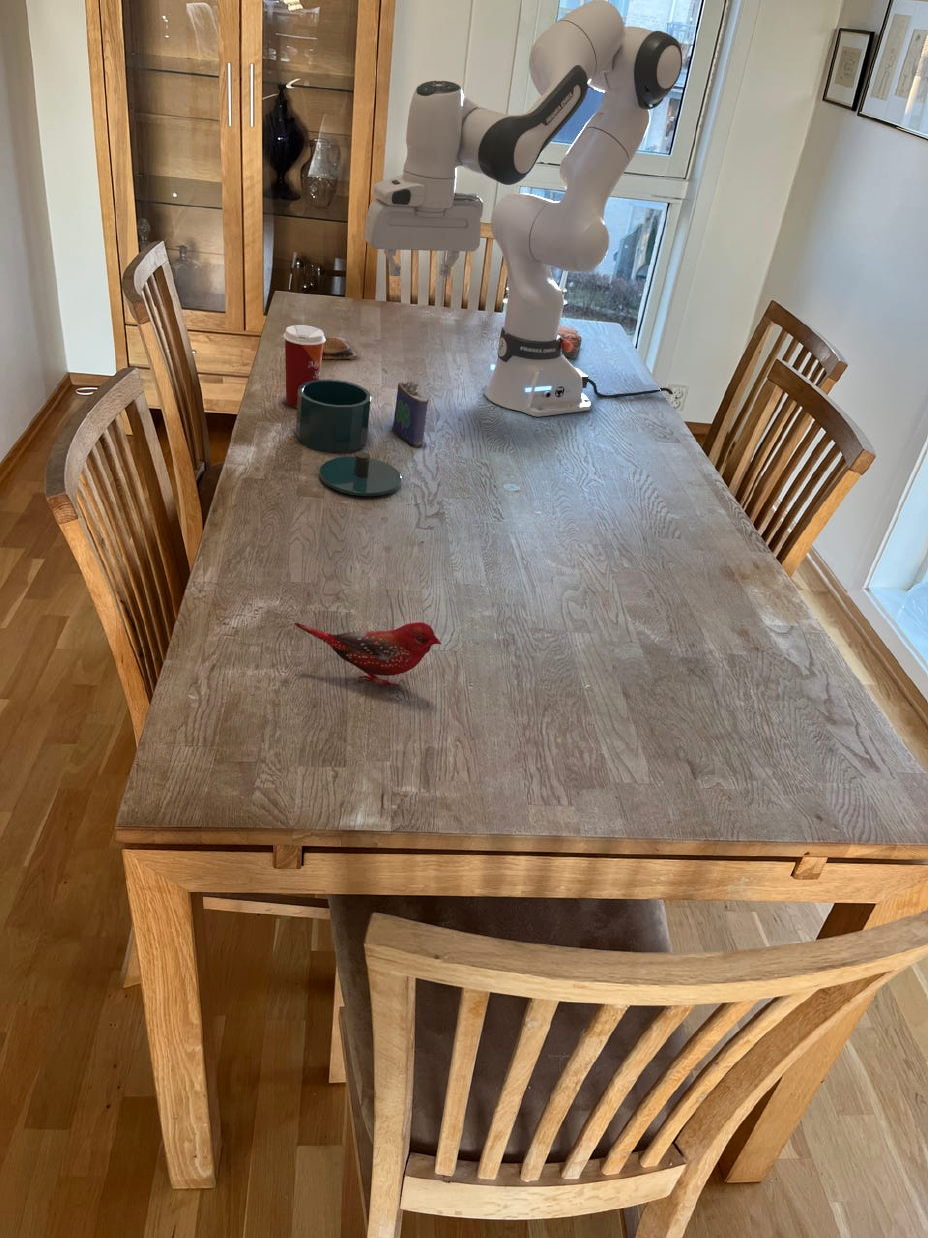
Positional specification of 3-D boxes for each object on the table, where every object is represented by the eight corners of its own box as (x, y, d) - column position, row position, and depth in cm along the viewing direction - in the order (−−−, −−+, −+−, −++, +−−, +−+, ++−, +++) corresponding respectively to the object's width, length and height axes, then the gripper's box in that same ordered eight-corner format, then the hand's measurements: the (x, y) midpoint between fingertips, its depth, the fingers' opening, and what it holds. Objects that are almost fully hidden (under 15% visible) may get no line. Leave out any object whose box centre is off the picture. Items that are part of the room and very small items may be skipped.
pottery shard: (582, 362, 232) (586, 346, 230) (518, 352, 231) (521, 336, 228) (576, 340, 246) (579, 325, 243) (515, 331, 244) (518, 315, 242)
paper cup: (318, 413, 184) (322, 340, 176) (277, 407, 184) (280, 333, 176) (324, 398, 191) (328, 327, 183) (284, 392, 190) (287, 321, 182)
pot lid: (385, 460, 171) (388, 436, 168) (412, 497, 161) (415, 471, 158) (309, 464, 166) (311, 438, 163) (332, 501, 156) (334, 474, 153)
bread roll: (348, 347, 217) (350, 330, 215) (358, 360, 211) (360, 343, 209) (301, 345, 214) (302, 329, 212) (310, 359, 207) (311, 342, 205)
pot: (355, 422, 183) (358, 378, 178) (376, 451, 174) (380, 406, 169) (288, 424, 178) (290, 379, 173) (306, 454, 169) (309, 407, 164)
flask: (425, 446, 178) (432, 390, 172) (411, 448, 177) (417, 391, 171) (401, 426, 184) (407, 371, 179) (388, 427, 183) (393, 372, 177)
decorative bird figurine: (431, 703, 117) (441, 635, 111) (287, 671, 118) (291, 602, 112) (435, 689, 119) (446, 621, 114) (295, 658, 120) (299, 589, 115)
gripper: (477, 189, 170) (467, 270, 177) (364, 183, 162) (359, 269, 170) (492, 198, 165) (480, 281, 173) (376, 193, 157) (370, 280, 165)
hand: (419, 275), depth 171 cm, fingers open, 8 cm apart
